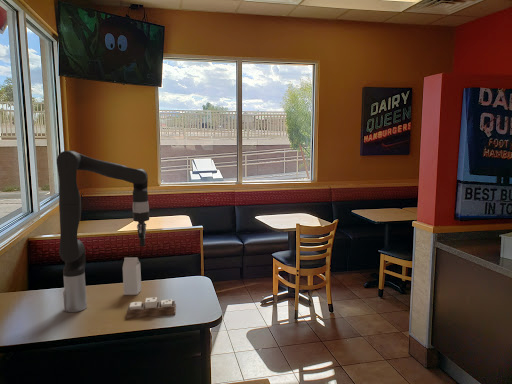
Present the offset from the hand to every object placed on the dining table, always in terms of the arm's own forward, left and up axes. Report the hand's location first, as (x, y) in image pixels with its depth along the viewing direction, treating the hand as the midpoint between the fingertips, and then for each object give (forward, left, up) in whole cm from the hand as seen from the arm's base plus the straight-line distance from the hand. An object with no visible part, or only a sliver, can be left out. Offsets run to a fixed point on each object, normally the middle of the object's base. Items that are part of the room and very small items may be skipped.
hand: (142, 246), depth 193 cm
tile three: (+11, -11, -28) cm, 32 cm away
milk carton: (-8, +16, -29) cm, 34 cm away
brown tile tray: (+4, -11, -29) cm, 31 cm away
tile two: (+4, -11, -26) cm, 29 cm away
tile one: (-3, -11, -28) cm, 30 cm away
